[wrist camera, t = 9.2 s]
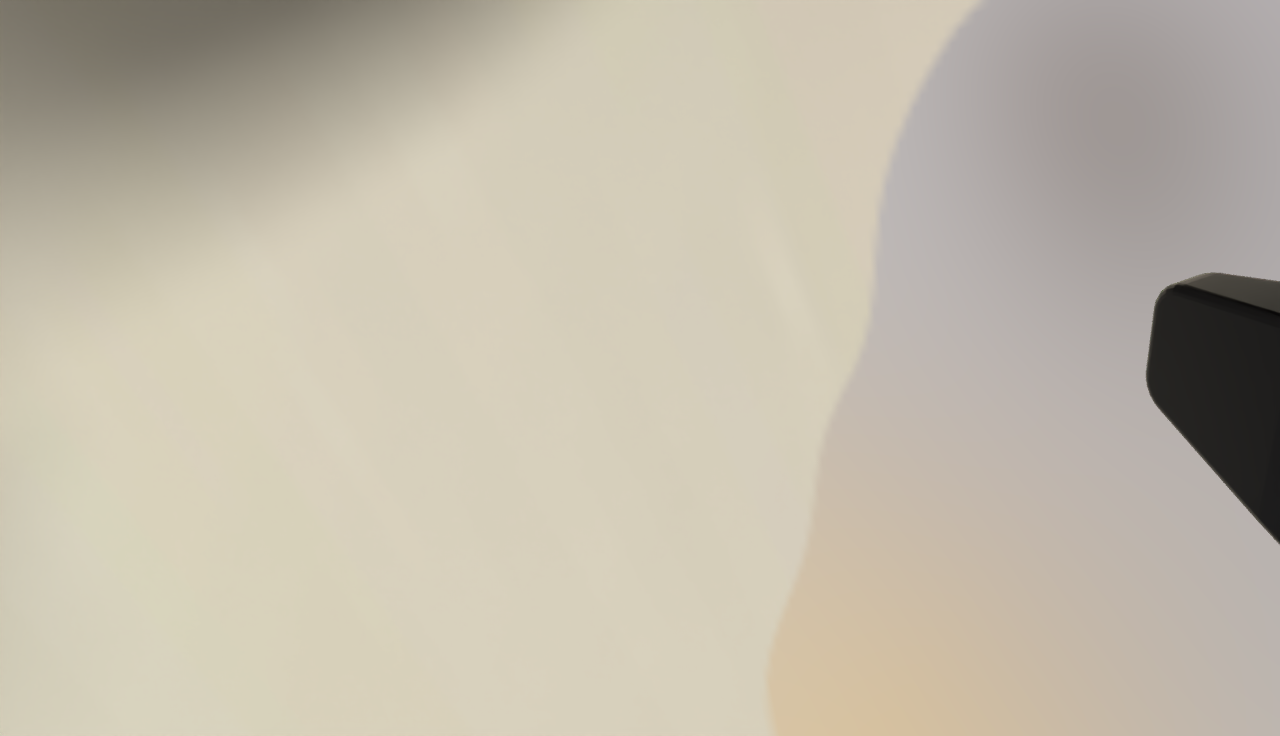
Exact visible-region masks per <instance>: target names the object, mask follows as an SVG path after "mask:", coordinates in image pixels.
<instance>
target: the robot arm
mask: <svg viewBox="0 0 1280 736" xmlns="http://www.w3.org/2000/svg"><path fill="white" fill-rule="evenodd" d="M1146 382H1147V387H1148V390H1149V393H1150V396H1151V397H1152V399H1153V401H1154V403H1155V404H1156V406H1157V407H1158V408H1159V409H1160V410H1161V412H1162V413H1163V414H1164V415H1165V416H1166V417H1167V419H1168V420H1169V421H1170V422H1171V423H1172V424H1173V425H1174V426H1175V428H1176V429H1177V430H1178V431H1179V432H1180V433H1181V434H1182V436H1183V437H1184V438H1185V439H1186V440H1187V441H1188V442H1189V443H1190V445H1191V446H1192V447H1193V448H1194V449H1195V450H1196V451H1197V453H1198V454H1199V455H1200V456H1201V457H1202V458H1203V459H1204V461H1205V462H1206V463H1207V464H1208V465H1209V466H1210V467H1211V468H1212V470H1213V471H1214V472H1215V473H1216V474H1217V475H1218V476H1219V477H1220V479H1221V480H1222V481H1223V482H1224V483H1225V484H1226V486H1227V487H1228V488H1229V489H1230V490H1231V491H1232V492H1233V493H1234V495H1235V496H1236V497H1237V498H1238V499H1239V500H1240V501H1241V503H1242V504H1243V505H1244V506H1245V507H1246V508H1247V509H1248V511H1249V512H1250V513H1251V514H1252V515H1253V516H1254V517H1255V518H1256V520H1257V521H1258V522H1259V523H1260V524H1261V525H1262V526H1263V527H1264V528H1265V529H1266V530H1267V531H1268V533H1269V534H1270V535H1271V536H1272V537H1273V538H1274V539H1275V540H1276V541H1277V542H1278V543H1279V544H1280V281H1273V280H1266V279H1259V278H1251V277H1245V276H1237V275H1230V274H1223V273H1205V274H1201V275H1198V276H1195V277H1192V278H1189V279H1186V280H1183V281H1180V282H1177V283H1174V284H1172V285H1169V286H1168V287H1166V288H1165V289H1164V290H1162V291H1161V293H1160V295H1159V296H1158V298H1157V300H1156V302H1155V306H1154V313H1153V321H1152V329H1151V337H1150V344H1149V352H1148V360H1147V368H1146Z"/></svg>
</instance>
